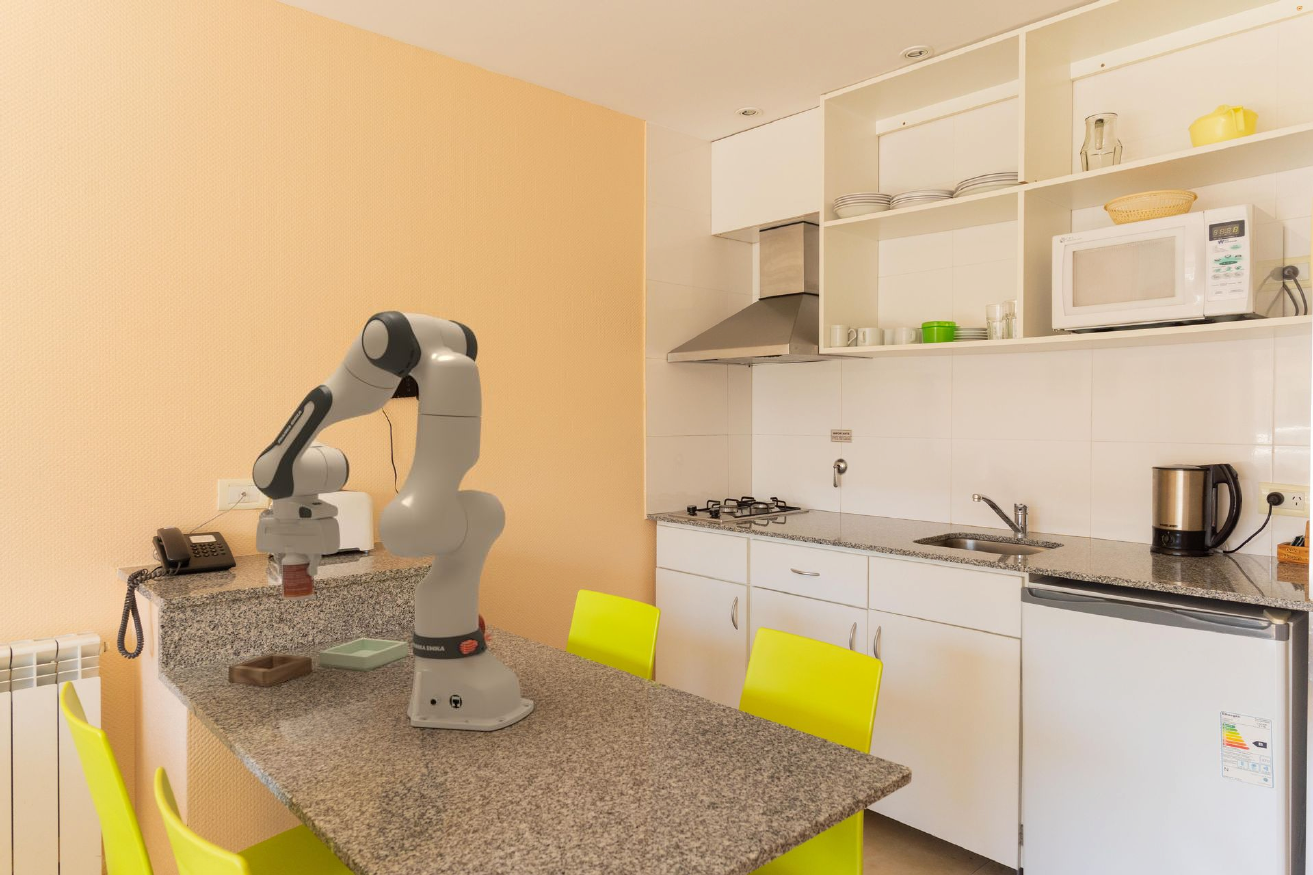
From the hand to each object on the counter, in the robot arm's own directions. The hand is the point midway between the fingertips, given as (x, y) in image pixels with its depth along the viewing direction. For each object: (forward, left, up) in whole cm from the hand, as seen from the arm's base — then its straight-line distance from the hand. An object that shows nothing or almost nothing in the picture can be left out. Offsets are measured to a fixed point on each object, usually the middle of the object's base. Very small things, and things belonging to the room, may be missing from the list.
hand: (298, 574), depth 170 cm
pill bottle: (0, 0, -5) cm, 5 cm away
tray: (-7, -12, -21) cm, 24 cm away
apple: (-25, -24, -21) cm, 40 cm away
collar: (+3, +4, -21) cm, 21 cm away
